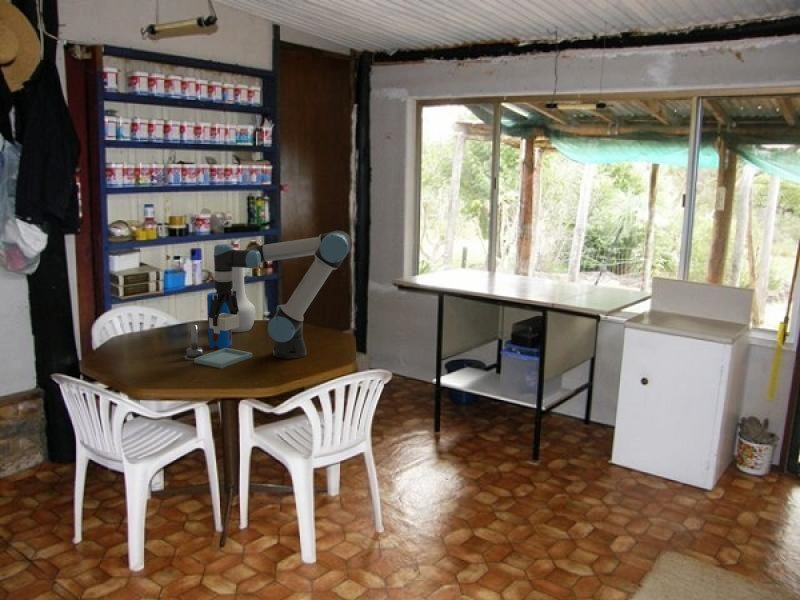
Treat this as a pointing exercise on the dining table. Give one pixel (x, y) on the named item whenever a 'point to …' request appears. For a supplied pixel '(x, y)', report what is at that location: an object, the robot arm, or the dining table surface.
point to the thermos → (224, 337)
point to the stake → (194, 345)
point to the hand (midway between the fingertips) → (224, 330)
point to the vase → (242, 302)
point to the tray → (223, 358)
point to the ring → (226, 321)
